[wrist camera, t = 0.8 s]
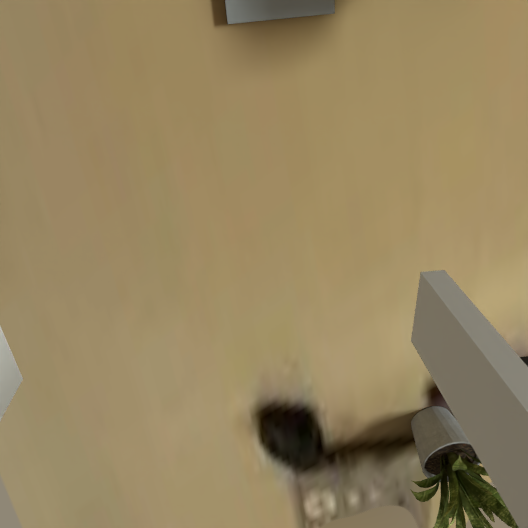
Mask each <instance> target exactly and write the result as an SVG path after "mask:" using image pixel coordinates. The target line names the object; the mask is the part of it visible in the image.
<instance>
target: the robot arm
mask: <svg viewBox="0 0 528 528" xmlns="http://www.w3.org/2000/svg"><path fill="white" fill-rule="evenodd" d="M411 342H412V343H413V345H414V347H415V348H416V350H417V352H418V354H419V355H420V357H421V359H422V361H423V362H424V364H425V366H426V368H427V369H428V371H429V373H430V375H431V376H432V378H433V380H434V381H435V383H436V385H437V387H438V388H439V390H440V392H441V394H442V395H443V397H444V399H445V401H446V402H447V404H448V406H449V407H450V409H451V411H452V413H453V414H454V416H455V418H456V420H457V421H458V423H459V425H460V427H461V428H462V430H463V432H464V433H465V435H466V437H467V439H468V440H469V442H470V444H471V446H472V447H473V449H474V451H475V453H476V454H477V456H478V458H479V460H480V461H481V463H482V465H483V466H484V468H485V470H486V472H487V473H488V475H489V477H490V479H491V480H492V482H493V484H494V485H495V487H496V489H497V491H498V492H499V494H500V496H501V498H502V499H503V501H504V503H505V505H506V506H507V508H508V510H509V512H510V513H511V515H512V517H513V518H514V520H515V522H516V524H517V525H518V527H519V528H528V356H527V357H519V356H518V355H517V354H516V352H515V351H514V350H513V349H512V348H511V347H510V346H509V344H508V343H507V342H506V341H505V340H504V339H503V337H502V336H501V335H500V334H499V333H498V332H497V330H496V329H495V328H494V327H493V326H492V325H491V324H490V322H489V321H488V320H487V319H486V318H485V317H484V315H483V314H482V313H481V312H480V311H479V310H478V308H477V307H476V306H475V305H474V304H473V303H472V301H471V300H470V299H469V298H468V297H467V296H466V295H465V293H464V292H463V291H462V290H461V289H460V288H459V286H458V285H457V284H456V283H455V282H454V281H453V279H452V278H451V277H450V276H449V275H448V274H447V272H446V271H445V270H440V271H429V272H421V273H420V280H419V288H418V295H417V302H416V309H415V316H414V324H413V331H412V338H411ZM22 379H23V378H22V375H21V373H20V371H19V369H18V366H17V364H16V362H15V359H14V357H13V355H12V352H11V350H10V348H9V345H8V343H7V341H6V338H5V336H4V334H3V331H2V329H1V327H0V420H1V418H2V417H3V415H4V413H5V411H6V409H7V407H8V405H9V404H10V402H11V400H12V398H13V396H14V394H15V392H16V391H17V389H18V387H19V385H20V383H21V381H22Z"/></svg>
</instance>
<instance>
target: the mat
mask: <svg viewBox="0 0 528 528" xmlns="http://www.w3.org/2000/svg"><path fill="white" fill-rule="evenodd" d="M225 5H226V14H227V22H228V24H234V23H244V22H254V21H264V20H274V19H284V18H294V17H304V16H314V15H323V14H333V13H335V0H225Z"/></svg>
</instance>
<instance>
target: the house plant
mask: <svg viewBox="0 0 528 528" xmlns="http://www.w3.org/2000/svg"><path fill="white" fill-rule="evenodd" d="M411 427H412V431H413V435H414V439H415V443H416V447H417V451H418V455H419V459H420V463H421V467H422V471H423V473H424V475H425V476H426V477H427V478H428V479H425V480H422V481H417V482H414V481H413V482H414V483H416V484H417V485H418V486H419V487H423V488H429V487H431V486H433V485H435V484H436V483H437V482H438V483H437V484H436V486H435V487H433V488H432V489H429V490H426V491H423V492H419V493H417V492H413V491H412V490H411V489H410V490H411V491H412V493H413V494H414V496H415V497H416V499H417V500H419V501H421V502H425V501H428V500H429V499H431V498H432V497H433V496H434V495H435V493H436V492H437V490H438V487H439V482H441V500H440V507H439V512H438V516H437V520H436V524H435V526H434V527H433V528H442V527H443V528H448V527H449V526H451V525H452V524H453V523H454V519H455V516H456V528H466V522H465V516H464V511H463V508H464V510H465V512H466V513H467V515H468V517H469V520H470V522H471V524H472V527H473V528H485V527H486V528H493V527H492V526H491V525H490V523H489V522H488V521H487V520H486V518H485V517H484V516H483V514H482V513H481V511H480V510H479V508H482V509H483V511H484V512H485V514H486V515H487V516H488V517H489V518H490V520H491V521H493V522H495V521H494V517H493V514H492V512H493V513H495V515H496V516H498V517H499V518H500V519H501V520H502V521H503V522H505V523H506V524H507V525H508V526H510V527H512V528H519V527H518V525H517V524H516V522H515V520H514V518H513V517H512V515H511V513H510V512H509V510H508V508H507V506H506V505H505V503H504V501H503V499H502V498H501V496H500V494H499V493H498V491H497V489H496V488H495V487H493V486H491V485H490V484H489V483H488V482H486V481H485V480H483V479H482V477H481V476H480V474H481V475H486V476H489V475H488V473H487V472H486V470H485V468H484V467H481V466H479V464H480V463H481V461H480V460H479V458H478V456H477V454H476V453H475V451H474V449H473V447H472V446H471V444H470V442H469V440H468V439H467V437H466V435H465V433H464V432H463V430H462V428H461V427H460V425H459V423H458V422H457V420H456V419H455V418H454V417H453V416H452V414H451V413H450V412H449V411H448V410H447V409H446V408H443V407H439V406H433V407H429V408H426V409H424V410H422V411H420V412H418V413H417V414H416V415H415V416H414V417H413V419H412V421H411ZM481 464H482V463H481ZM469 475H470V476H471V477H472V478H471V477H470V476H469ZM411 481H412V480H411ZM448 482H449V488H448ZM449 490H450V501H449V503H448V500H449ZM451 517H452V522H451V523H450V525H449V518H451ZM483 524H484V525H483ZM448 525H449V526H448ZM484 526H485V527H484Z"/></svg>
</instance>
